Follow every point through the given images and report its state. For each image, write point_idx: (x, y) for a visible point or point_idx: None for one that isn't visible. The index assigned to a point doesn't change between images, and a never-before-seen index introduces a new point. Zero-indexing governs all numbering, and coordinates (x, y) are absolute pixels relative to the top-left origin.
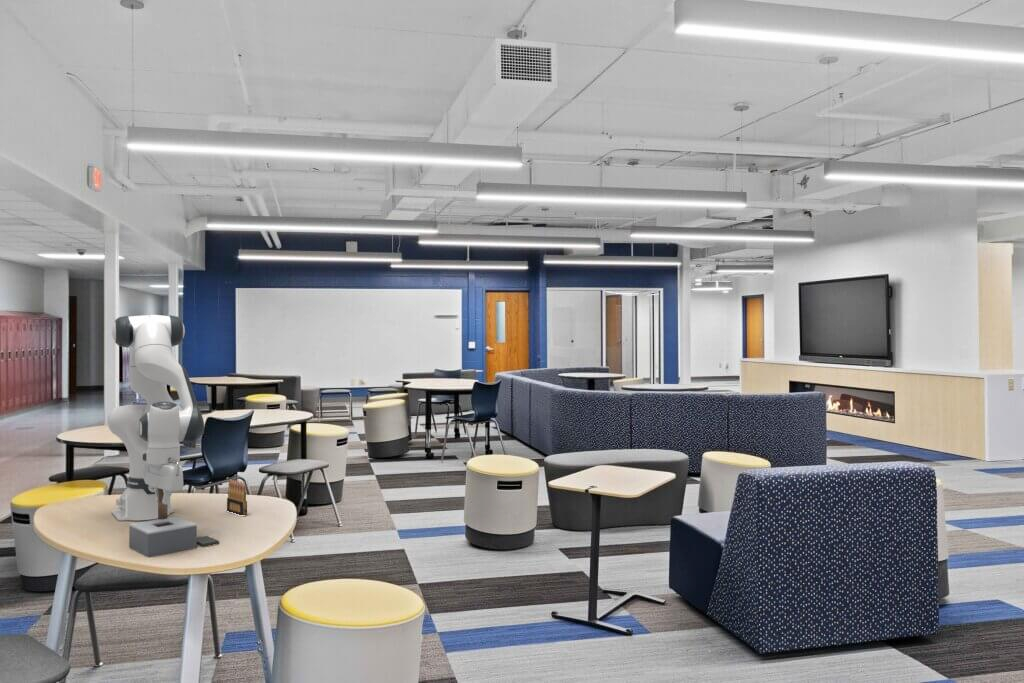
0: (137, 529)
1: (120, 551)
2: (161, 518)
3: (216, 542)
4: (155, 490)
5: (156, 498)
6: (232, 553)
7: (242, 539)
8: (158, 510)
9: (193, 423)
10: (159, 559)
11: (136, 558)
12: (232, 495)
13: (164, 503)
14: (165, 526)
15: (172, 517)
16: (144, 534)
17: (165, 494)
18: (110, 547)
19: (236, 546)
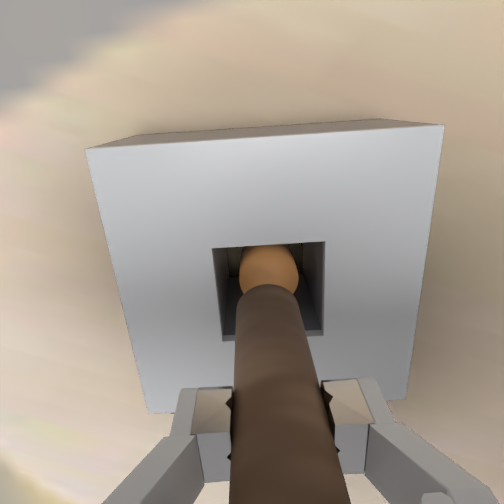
0: (282, 134)
1: (340, 56)
2: (241, 300)
3: None
4: (446, 488)
5: (379, 399)
6: (17, 394)
7: None
8: (269, 321)
9: None
10: (70, 165)
11: (149, 81)
12: None
13: (181, 396)
14: (199, 286)
15: (394, 377)
16: (158, 142)
17: (112, 501)
18: (462, 36)
19: (105, 429)
